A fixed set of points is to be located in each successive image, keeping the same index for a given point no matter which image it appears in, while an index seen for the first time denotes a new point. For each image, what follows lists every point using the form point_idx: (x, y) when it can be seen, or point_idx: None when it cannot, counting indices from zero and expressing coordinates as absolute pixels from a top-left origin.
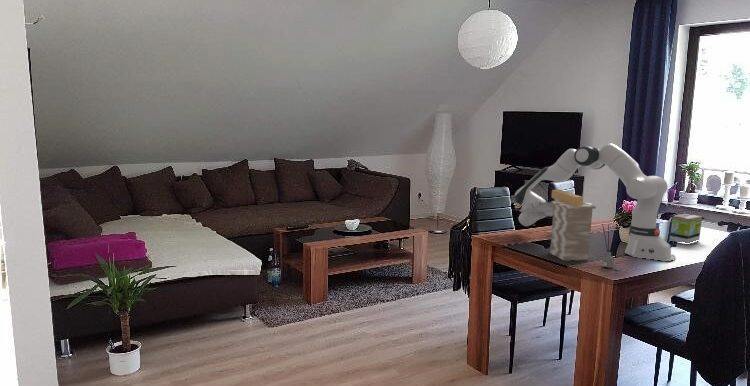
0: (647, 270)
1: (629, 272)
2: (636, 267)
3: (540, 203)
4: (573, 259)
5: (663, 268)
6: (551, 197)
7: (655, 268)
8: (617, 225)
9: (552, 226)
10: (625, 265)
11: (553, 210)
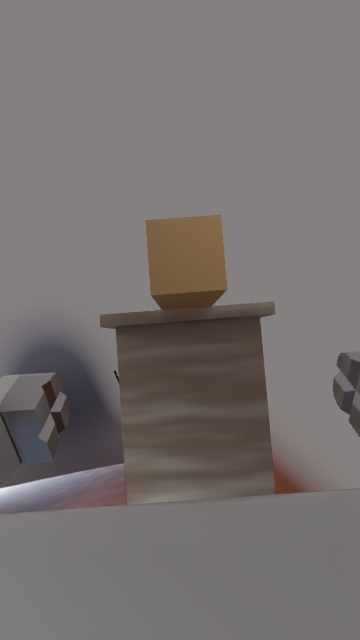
0: (64, 478)
1: (123, 470)
2: (65, 490)
3: (338, 385)
4: None
5: (4, 488)
6: (226, 286)
7: (25, 487)
8: (114, 371)
9: (271, 455)
10: (77, 500)
11: (263, 359)
